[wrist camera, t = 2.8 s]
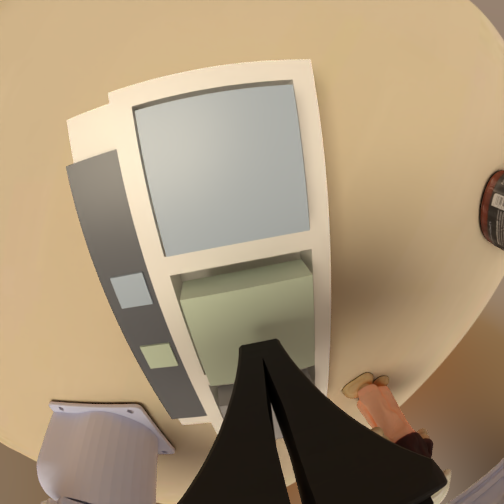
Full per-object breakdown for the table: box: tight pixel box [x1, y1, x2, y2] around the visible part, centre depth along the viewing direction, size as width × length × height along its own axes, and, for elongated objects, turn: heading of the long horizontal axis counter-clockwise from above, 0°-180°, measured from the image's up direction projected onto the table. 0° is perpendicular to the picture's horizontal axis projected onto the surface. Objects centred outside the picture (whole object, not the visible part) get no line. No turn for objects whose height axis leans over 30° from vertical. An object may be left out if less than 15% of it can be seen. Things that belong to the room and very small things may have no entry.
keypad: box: [66, 59, 331, 435], centre depth 13 cm, size 10×20×3 cm, turn 8°
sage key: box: [180, 259, 315, 386], centre depth 11 cm, size 5×5×1 cm
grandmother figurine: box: [342, 373, 451, 504], centre depth 14 cm, size 8×4×13 cm, turn 69°
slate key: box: [135, 85, 310, 257], centre depth 9 cm, size 5×5×1 cm
